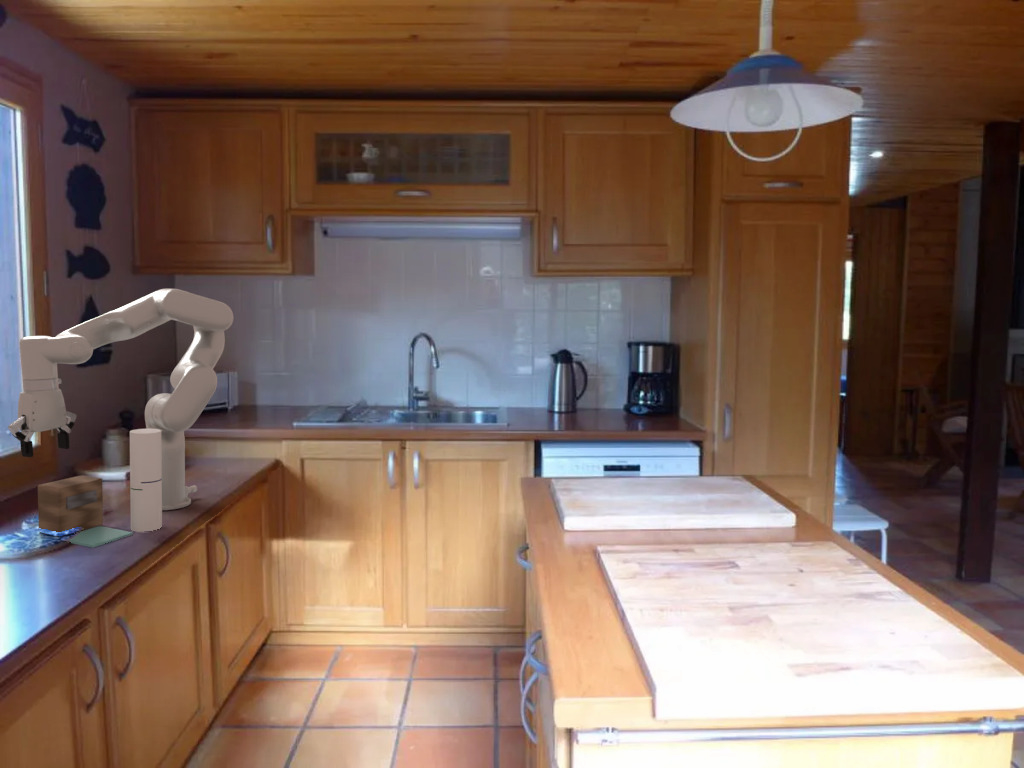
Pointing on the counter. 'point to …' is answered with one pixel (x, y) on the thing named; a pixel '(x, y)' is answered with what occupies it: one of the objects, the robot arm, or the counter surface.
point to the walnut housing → (70, 503)
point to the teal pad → (98, 536)
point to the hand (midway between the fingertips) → (46, 452)
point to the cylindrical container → (145, 479)
